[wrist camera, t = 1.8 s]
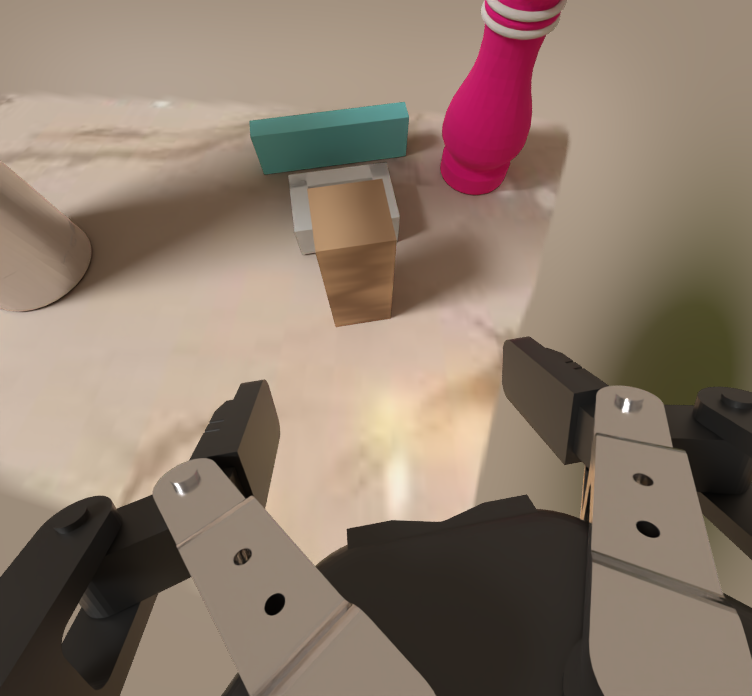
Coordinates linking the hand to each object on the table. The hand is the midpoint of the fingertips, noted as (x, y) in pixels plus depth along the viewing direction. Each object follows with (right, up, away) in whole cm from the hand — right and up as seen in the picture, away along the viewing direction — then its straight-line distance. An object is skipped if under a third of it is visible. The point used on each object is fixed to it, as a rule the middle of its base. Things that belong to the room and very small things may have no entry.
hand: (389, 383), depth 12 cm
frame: (-3, +13, +20) cm, 24 cm away
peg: (-2, +5, +18) cm, 18 cm away
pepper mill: (+9, +18, +23) cm, 30 cm away
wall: (-5, +20, +23) cm, 31 cm away
